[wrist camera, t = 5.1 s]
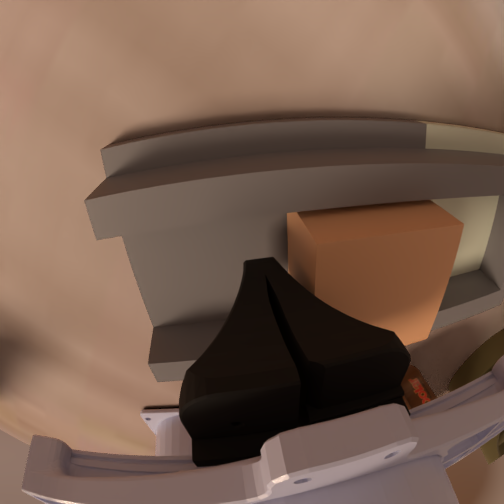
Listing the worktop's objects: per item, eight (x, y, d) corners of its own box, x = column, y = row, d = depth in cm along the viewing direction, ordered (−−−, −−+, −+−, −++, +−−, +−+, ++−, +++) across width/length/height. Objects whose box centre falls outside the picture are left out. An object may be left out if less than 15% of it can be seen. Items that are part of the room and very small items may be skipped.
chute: (469, 288, 19) (494, 317, 16) (168, 347, 17) (164, 394, 14) (504, 133, 13) (545, 150, 10) (107, 145, 11) (75, 166, 8)
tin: (378, 359, 21) (421, 448, 14) (412, 342, 21) (461, 425, 14) (386, 422, 29) (409, 479, 22) (409, 410, 29) (435, 466, 21)
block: (391, 289, 16) (427, 338, 12) (288, 308, 15) (308, 369, 12) (409, 186, 13) (464, 224, 9) (286, 196, 12) (316, 244, 9)
